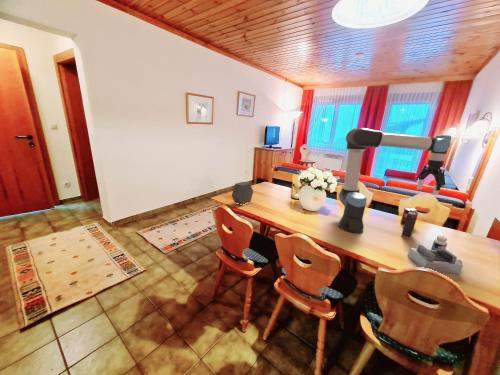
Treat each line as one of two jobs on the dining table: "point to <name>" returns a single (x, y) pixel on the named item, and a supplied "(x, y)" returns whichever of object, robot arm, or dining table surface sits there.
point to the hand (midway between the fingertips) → (426, 191)
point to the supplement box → (409, 224)
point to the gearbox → (436, 259)
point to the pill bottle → (439, 243)
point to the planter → (242, 192)
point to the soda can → (405, 213)
